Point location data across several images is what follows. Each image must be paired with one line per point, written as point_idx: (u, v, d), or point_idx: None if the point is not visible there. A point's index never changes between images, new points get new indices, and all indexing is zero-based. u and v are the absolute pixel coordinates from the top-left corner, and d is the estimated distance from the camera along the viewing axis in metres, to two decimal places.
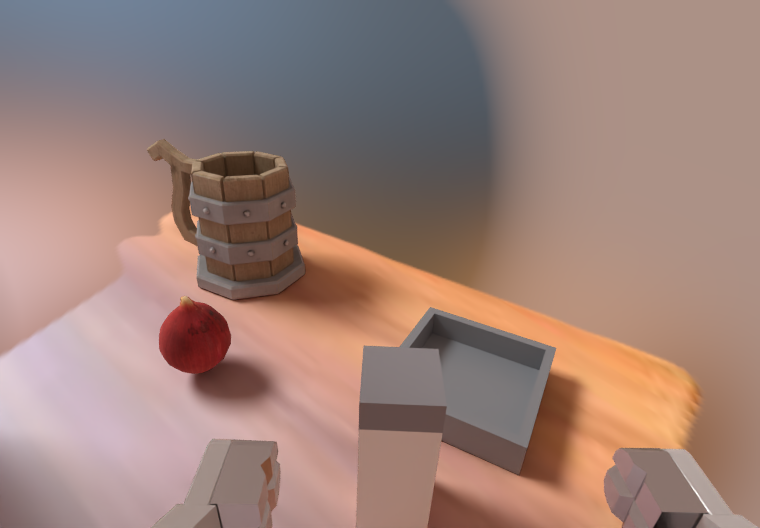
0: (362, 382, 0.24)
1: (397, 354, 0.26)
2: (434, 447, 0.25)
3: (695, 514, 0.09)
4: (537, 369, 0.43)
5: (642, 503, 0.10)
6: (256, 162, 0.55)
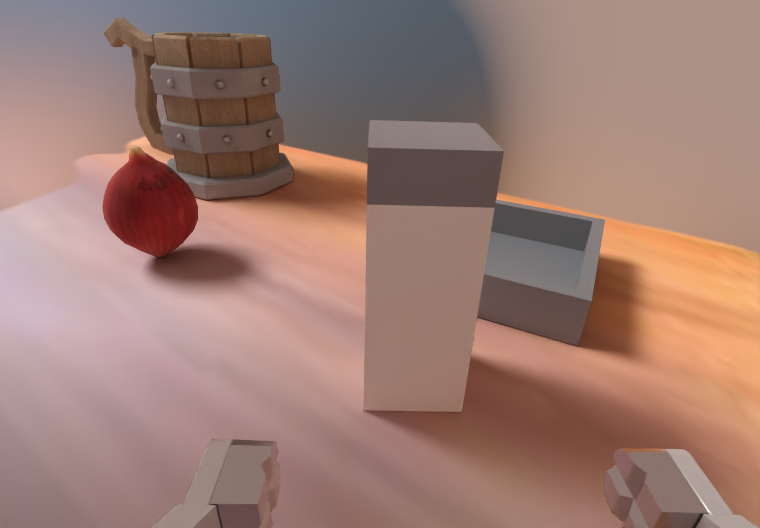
0: (370, 137, 0.16)
1: (419, 125, 0.18)
2: (480, 238, 0.16)
3: (695, 514, 0.09)
4: (581, 250, 0.34)
5: (642, 502, 0.10)
6: None
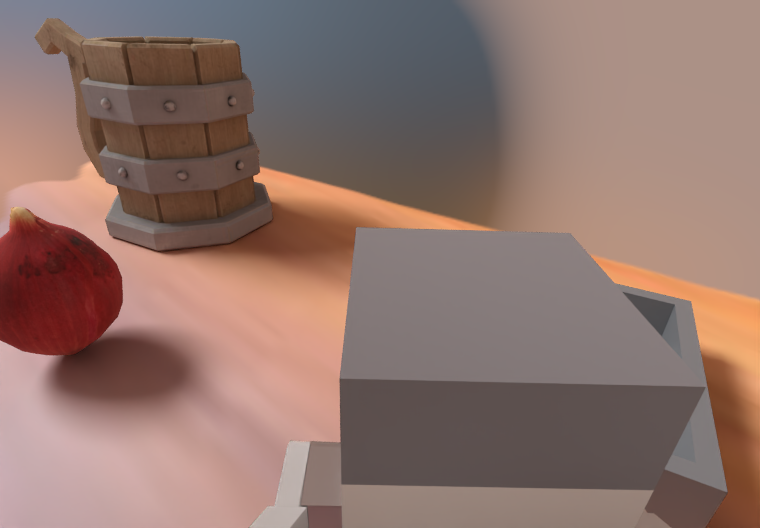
0: (352, 311, 0.07)
1: (456, 244, 0.09)
2: None
3: None
4: None
5: None
6: None
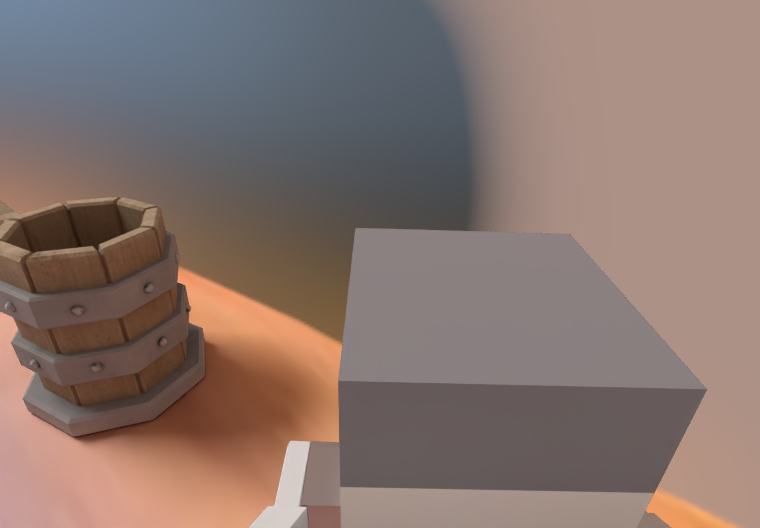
0: (351, 312, 0.07)
1: (456, 245, 0.09)
2: None
3: None
4: None
5: None
6: (121, 215, 0.36)
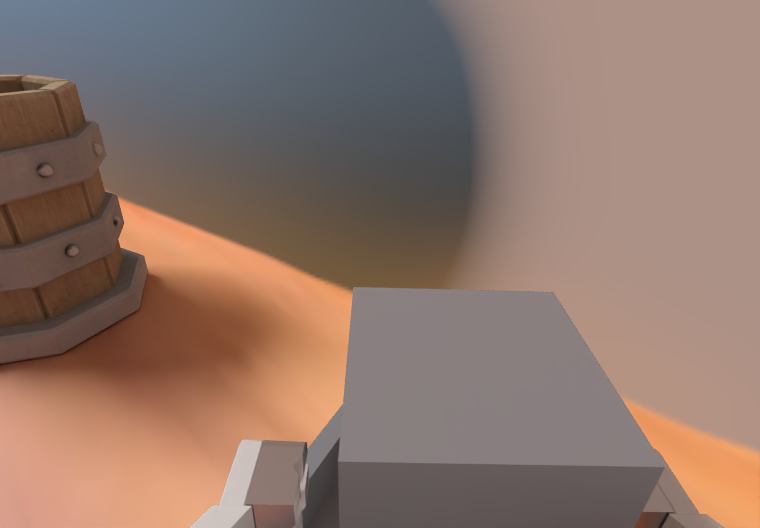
0: (349, 385, 0.07)
1: (446, 306, 0.10)
2: None
3: (661, 513, 0.09)
4: None
5: None
6: None
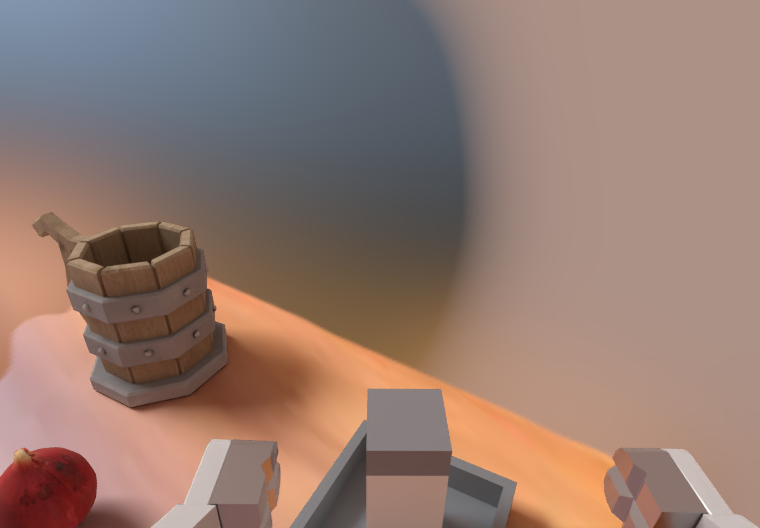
0: (368, 428, 0.25)
1: (400, 397, 0.27)
2: (441, 490, 0.25)
3: (695, 514, 0.09)
4: (495, 507, 0.34)
5: (642, 502, 0.10)
6: (162, 235, 0.46)
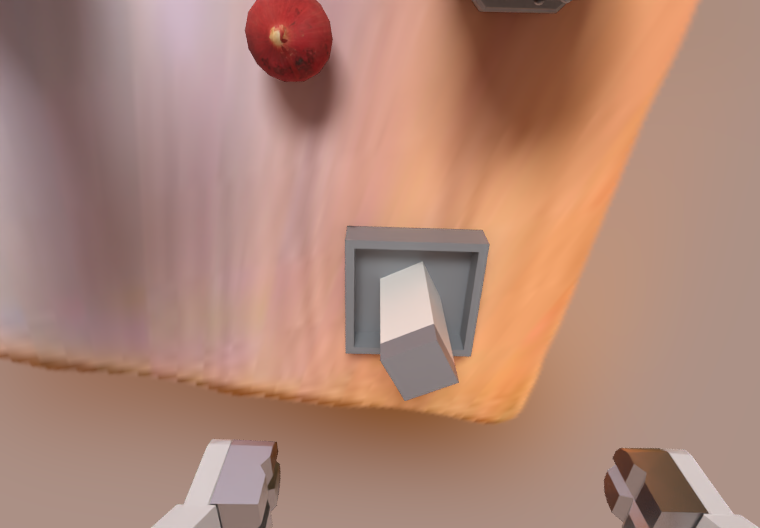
0: (398, 355, 0.33)
1: (438, 362, 0.33)
2: None
3: (695, 514, 0.09)
4: (459, 333, 0.47)
5: (642, 502, 0.10)
6: None
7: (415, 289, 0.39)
